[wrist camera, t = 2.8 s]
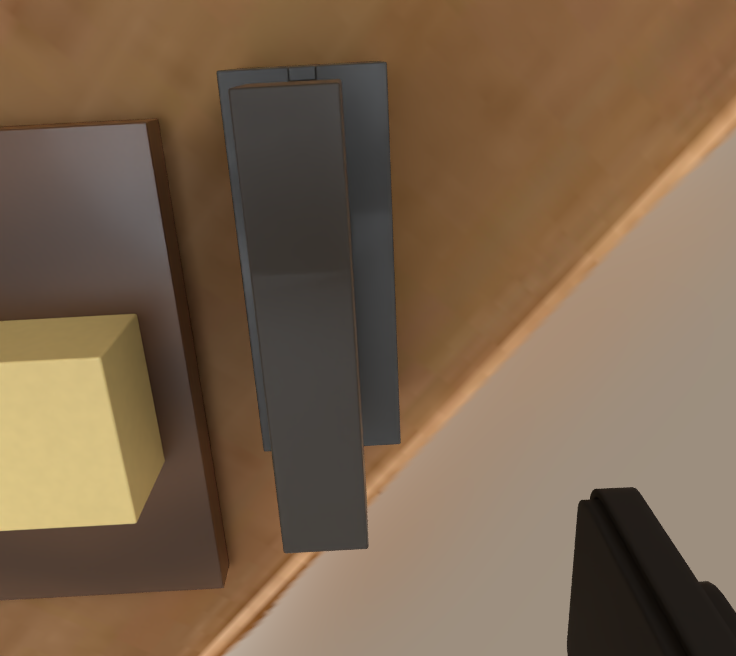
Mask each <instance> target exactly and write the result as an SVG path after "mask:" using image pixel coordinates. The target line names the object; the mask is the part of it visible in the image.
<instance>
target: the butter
mask: <svg viewBox="0 0 736 656" xmlns="http://www.w3.org/2000/svg"><path fill="white" fill-rule="evenodd" d="M164 462H165V459H164V454H163V449H162V443H161V438H160V433H159V428H158V423H157V417H156V412H155V407H154V402H153V396H152V391H151V386H150V381H149V375H148V370H147V365H146V360H145V354H144V349H143V344H142V339H141V333H140V328H139V323H138V318H137V314H121V315H103V316H84V317H66V318H48V319H29V320H11V321H0V531H11V530H29V529H47V528H65V527H83V526H101V525H119V524H135V523H137V521H138V519H139V516H140V514H141V512H142V510H143V508H144V506H145V503H146V501H147V499H148V497H149V495H150V492H151V490H152V488H153V486H154V484H155V482H156V479H157V477H158V475H159V473H160V471H161V469H162V466H163V464H164Z"/></svg>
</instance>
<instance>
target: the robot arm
mask: <svg viewBox="0 0 736 656" xmlns="http://www.w3.org/2000/svg"><path fill="white" fill-rule="evenodd" d="M567 652H568V656H736V612H735V611H734V609H733V608H732V607H731V605H730V604H729V602H728V601H727V600H726V598H725V597H724V595H723V594H722V593H721V592H720V590H719V589H718V588H717V587H716V586H715V585H713V584H712V583H710V582H708V581H705V582H698V580H697V579H696V577H695V576H694V574H693V573H692V571H691V570H690V568H689V567H688V565H687V563H686V562H685V560H684V559H683V557H682V556H681V554H680V553H679V551H678V550H677V548H676V547H675V545H674V544H673V542H672V541H671V539H670V538H669V536H668V535H667V533H666V532H665V530H664V529H663V527H662V526H661V524H660V523H659V521H658V520H657V518H656V517H655V515H654V514H653V512H652V510H651V509H650V508H649V506H648V505H647V503H646V501H645V500H644V498H643V497H642V495H641V494H640V492H639V491H638V490H637V489H636V488H633V487H630V488H607V489H594V490H593V491H592V493H591V496H590V500H581V501H580V502H579V504H578V512H577V524H576V537H575V550H574V562H573V574H572V586H571V599H570V612H569V624H568V636H567Z"/></svg>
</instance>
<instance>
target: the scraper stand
mask: <svg viewBox="0 0 736 656" xmlns="http://www.w3.org/2000/svg"><path fill="white" fill-rule="evenodd" d="M329 79H340V80H341V81H342V96H343V113H344V129H345V146H346V162H347V179H348V196H349V212H350V229H351V245H352V262H353V278H354V295H355V311H356V328H357V345H358V361H359V378H360V394H361V411H362V427H363V444H364V446H372V445H390V444H400V443H401V440H400V412H399V385H398V357H397V330H396V302H395V275H394V247H393V220H392V193H391V165H390V138H389V110H388V83H387V63H386V62H383V61H369V62H351V63H332V64H313V65H298V66H297V65H295V66H276V67H257V68H239V69H230V70H220V71H217V80H218V88H219V96H220V104H221V112H222V120H223V128H224V136H225V144H226V152H227V160H228V168H229V176H230V184H231V192H232V200H233V208H234V216H235V224H236V232H237V240H238V248H239V256H240V264H241V272H242V280H243V288H244V296H245V304H246V312H247V320H248V328H249V336H250V344H251V352H252V360H253V368H254V376H255V384H256V392H257V400H258V408H259V416H260V424H261V432H262V440H263V448H264V451H271V442H270V434H269V426H268V417H267V409H266V401H265V393H264V384H263V376H262V368H261V359H260V351H259V343H258V334H257V326H256V318H255V309H254V301H253V293H252V284H251V276H250V268H249V260H248V251H247V243H246V235H245V226H244V218H243V210H242V201H241V193H240V185H239V176H238V168H237V160H236V152H235V143H234V135H233V127H232V118H231V110H230V102H229V93H228V90H229V89H230V88H233V87H237V86H240V85H244V84H255V83H273V82H292V81H308V80H329Z"/></svg>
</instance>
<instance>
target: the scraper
mask: <svg viewBox="0 0 736 656" xmlns="http://www.w3.org/2000/svg"><path fill="white" fill-rule="evenodd" d="M228 93H229V102H230V110H231V118H232V127H233V135H234V143H235V152H236V160H237V168H238V176H239V185H240V193H241V201H242V210H243V218H244V226H245V235H246V243H247V251H248V260H249V268H250V276H251V284H252V293H253V301H254V309H255V318H256V326H257V334H258V343H259V351H260V359H261V368H262V376H263V384H264V393H265V401H266V409H267V417H268V426H269V434H270V442H271V451H272V459H273V467H274V476H275V484H276V492H277V501H278V509H279V517H280V526H281V534H282V542H283V550H284V553H299V552H317V551H335V550H353V549H367V548H368V520H367V494H366V477H365V460H364V444H363V427H362V411H361V394H360V378H359V361H358V345H357V328H356V311H355V295H354V278H353V262H352V245H351V229H350V212H349V196H348V179H347V162H346V146H345V129H344V113H343V96H342V81H341V80H340V79H329V80H308V81H292V82H273V83H255V84H244V85H240V86H237V87H233V88H230V89H229V90H228Z"/></svg>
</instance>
